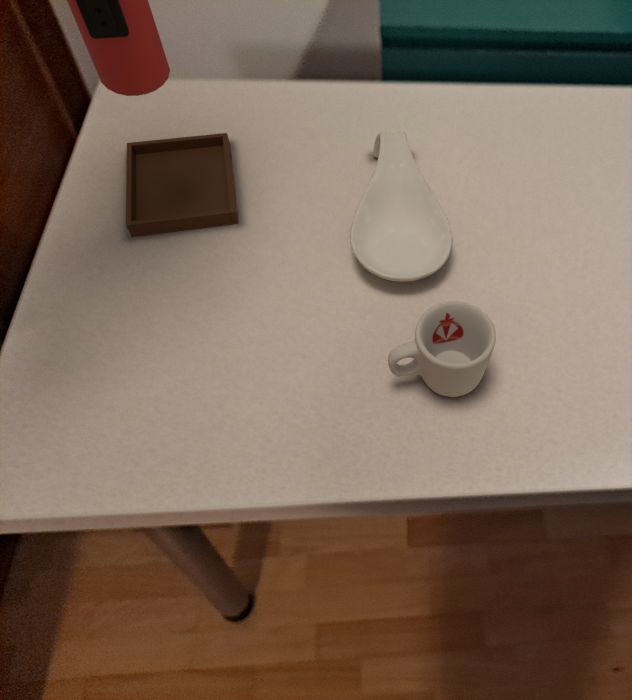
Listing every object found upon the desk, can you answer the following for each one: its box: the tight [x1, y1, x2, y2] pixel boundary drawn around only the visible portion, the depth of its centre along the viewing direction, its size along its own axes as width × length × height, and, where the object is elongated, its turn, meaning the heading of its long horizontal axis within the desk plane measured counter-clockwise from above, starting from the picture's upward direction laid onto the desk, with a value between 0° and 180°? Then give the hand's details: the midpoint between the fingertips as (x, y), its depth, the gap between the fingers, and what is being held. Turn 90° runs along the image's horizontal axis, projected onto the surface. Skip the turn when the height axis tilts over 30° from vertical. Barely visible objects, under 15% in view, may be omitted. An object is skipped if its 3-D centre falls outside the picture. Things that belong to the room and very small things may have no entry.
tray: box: [125, 132, 239, 238], centre depth 85 cm, size 12×14×2 cm
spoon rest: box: [349, 131, 453, 282], centre depth 82 cm, size 24×12×7 cm, turn 8°
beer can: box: [66, 0, 171, 97], centre depth 63 cm, size 7×7×12 cm
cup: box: [387, 300, 497, 398], centre depth 70 cm, size 11×8×8 cm
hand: (111, 10), depth 63 cm, fingers closed on beer can, 6 cm apart
